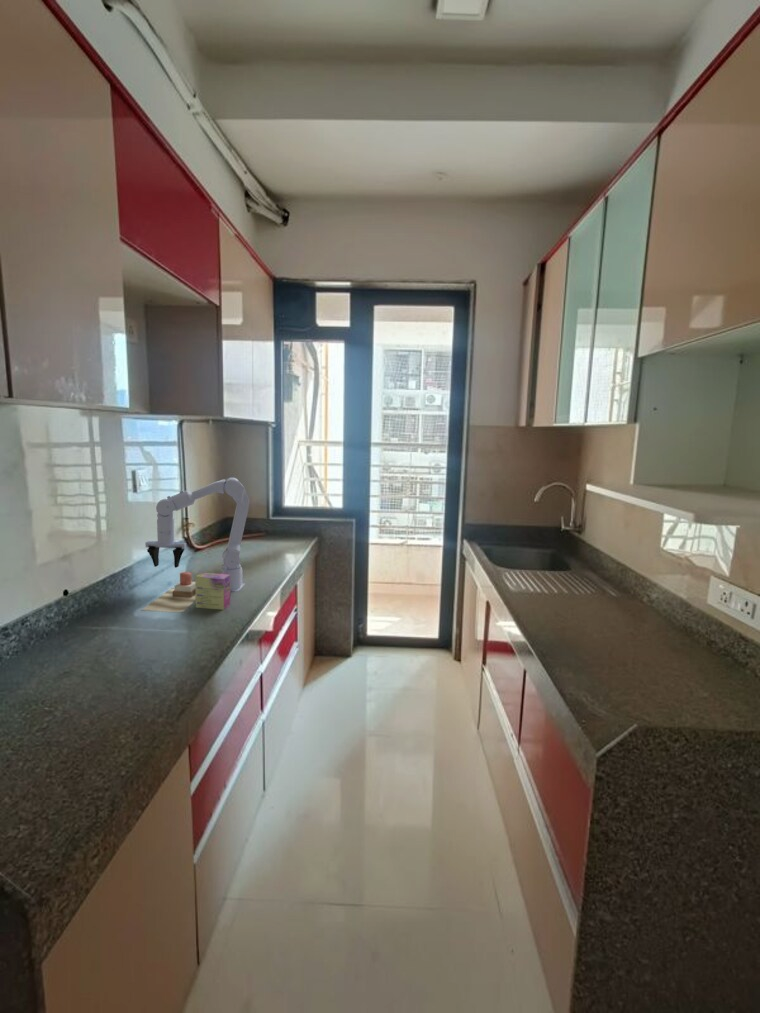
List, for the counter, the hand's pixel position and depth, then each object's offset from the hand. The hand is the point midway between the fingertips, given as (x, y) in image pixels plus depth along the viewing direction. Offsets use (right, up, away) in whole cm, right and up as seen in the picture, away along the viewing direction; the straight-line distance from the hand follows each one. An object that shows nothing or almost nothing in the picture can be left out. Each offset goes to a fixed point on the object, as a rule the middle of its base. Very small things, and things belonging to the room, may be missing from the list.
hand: (166, 566), depth 178 cm
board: (+7, -12, -6) cm, 15 cm away
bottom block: (+8, -10, 0) cm, 13 cm away
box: (+21, -13, -11) cm, 28 cm away
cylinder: (+8, -6, -1) cm, 10 cm away
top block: (+8, -8, -1) cm, 11 cm away
